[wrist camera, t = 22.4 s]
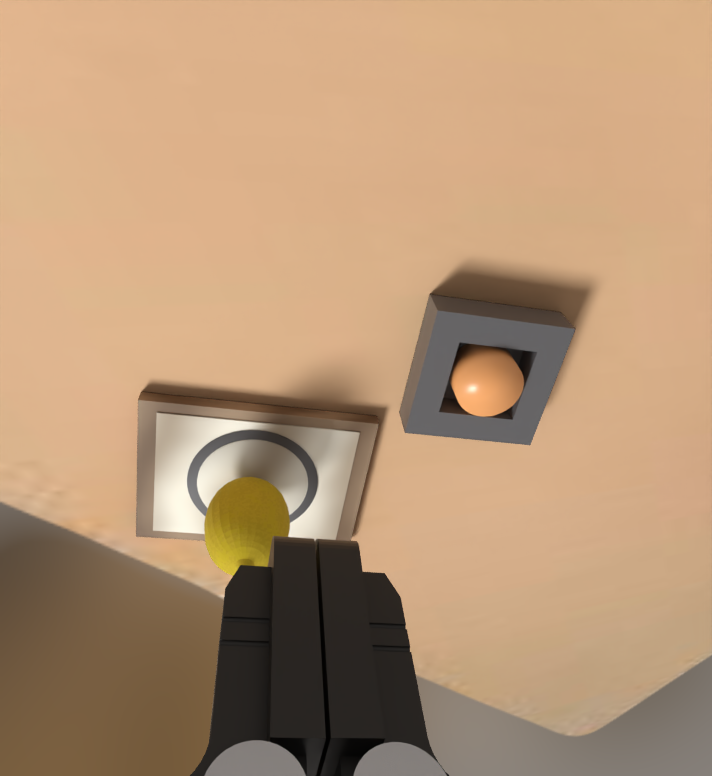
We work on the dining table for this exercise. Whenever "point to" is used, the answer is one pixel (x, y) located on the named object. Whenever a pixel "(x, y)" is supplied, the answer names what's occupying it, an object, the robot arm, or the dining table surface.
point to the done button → (485, 379)
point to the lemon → (244, 523)
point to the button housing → (490, 328)
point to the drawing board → (248, 462)
